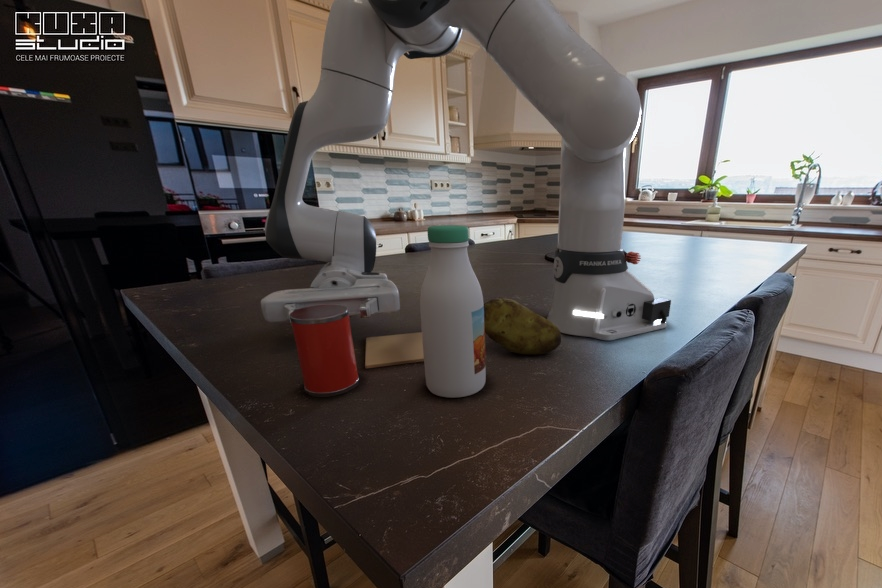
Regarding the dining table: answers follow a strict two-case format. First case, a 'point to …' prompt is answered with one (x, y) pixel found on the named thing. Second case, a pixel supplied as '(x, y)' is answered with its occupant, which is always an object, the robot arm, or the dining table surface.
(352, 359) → the tomato tin
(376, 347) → the cork mat
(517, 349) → the potato
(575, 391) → the dining table surface
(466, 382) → the milk bottle
